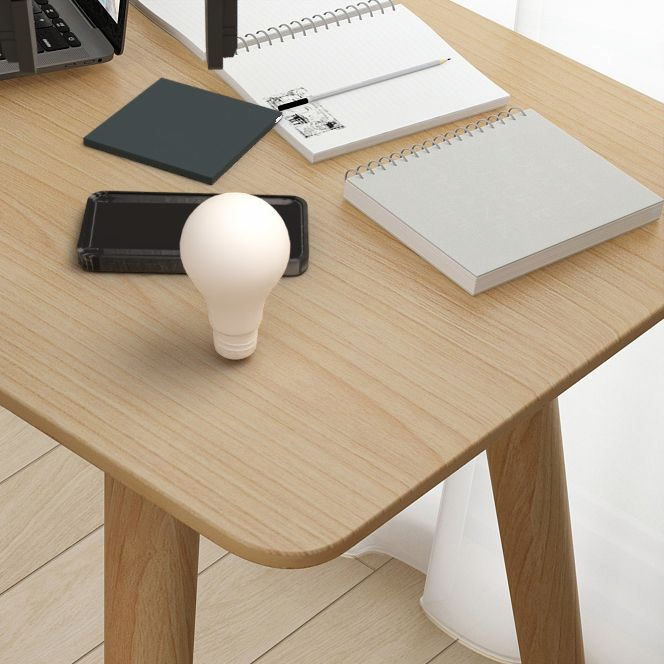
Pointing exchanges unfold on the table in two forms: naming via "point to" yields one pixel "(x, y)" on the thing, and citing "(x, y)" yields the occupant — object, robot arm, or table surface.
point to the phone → (165, 230)
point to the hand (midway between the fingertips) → (122, 64)
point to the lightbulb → (235, 265)
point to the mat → (184, 130)
